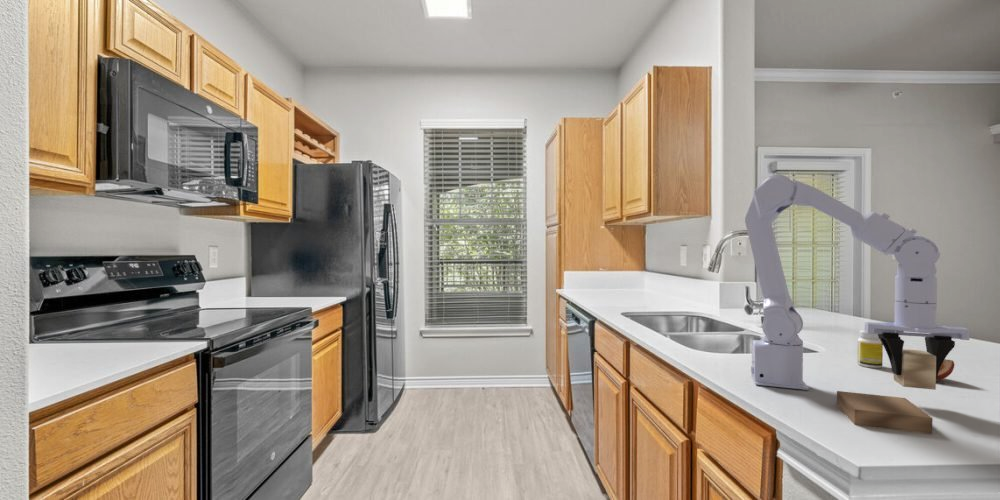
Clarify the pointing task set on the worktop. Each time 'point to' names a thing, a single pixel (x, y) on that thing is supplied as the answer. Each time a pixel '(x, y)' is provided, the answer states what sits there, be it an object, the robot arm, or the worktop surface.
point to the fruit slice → (945, 369)
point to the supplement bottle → (870, 350)
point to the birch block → (917, 370)
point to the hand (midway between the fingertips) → (914, 375)
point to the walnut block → (884, 412)
